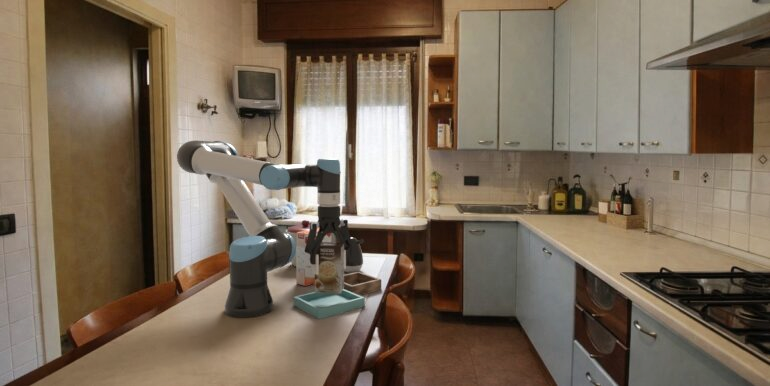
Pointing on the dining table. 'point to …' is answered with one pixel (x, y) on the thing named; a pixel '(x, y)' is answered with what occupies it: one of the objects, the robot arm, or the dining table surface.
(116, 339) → the dining table surface
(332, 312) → the tray
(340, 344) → the dining table surface
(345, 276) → the holder
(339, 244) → the coffee box
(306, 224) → the canister
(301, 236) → the cracker box
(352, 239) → the pump dispenser
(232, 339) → the dining table surface
